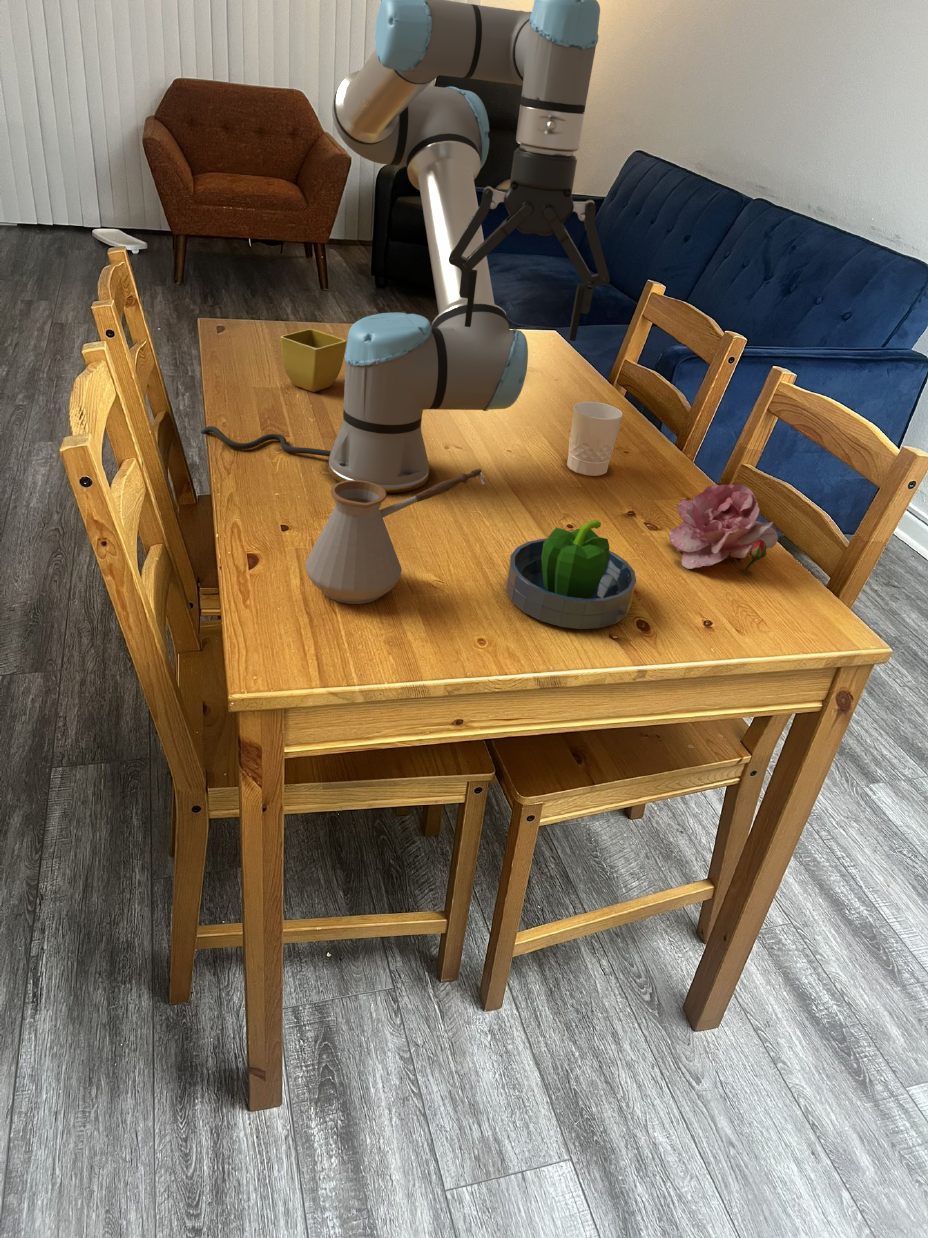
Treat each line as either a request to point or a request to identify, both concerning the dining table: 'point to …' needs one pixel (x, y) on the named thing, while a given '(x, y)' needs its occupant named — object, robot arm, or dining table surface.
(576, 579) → the bell pepper
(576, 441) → the white cup
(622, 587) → the bowl
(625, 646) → the dining table surface
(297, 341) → the flower pot
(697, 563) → the flower
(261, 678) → the dining table surface
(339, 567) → the coffee pot
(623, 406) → the dining table surface
